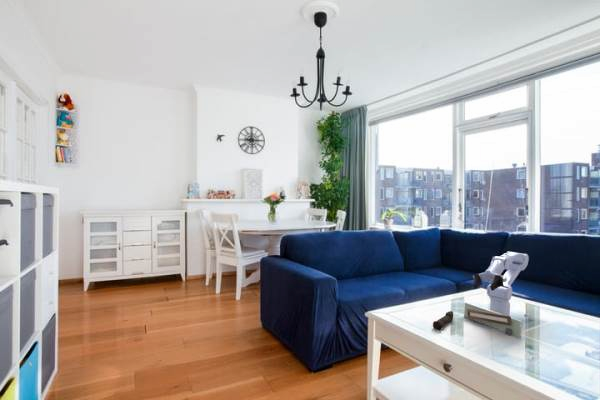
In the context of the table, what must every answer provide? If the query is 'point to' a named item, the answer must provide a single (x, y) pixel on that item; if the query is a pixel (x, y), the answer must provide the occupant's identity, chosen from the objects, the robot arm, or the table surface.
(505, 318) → the grooved wooden rail
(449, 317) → the dark brown bar
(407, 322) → the table surface
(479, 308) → the wall panel
